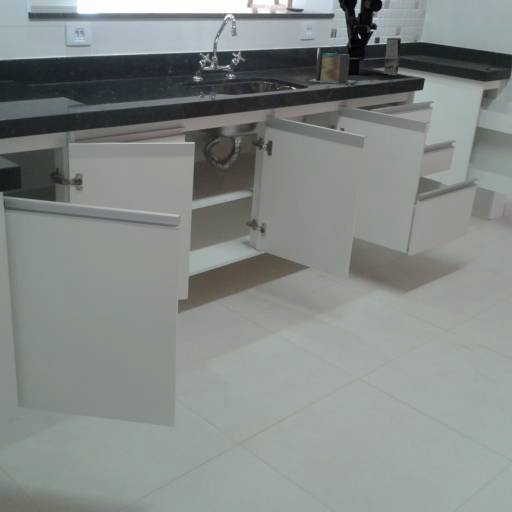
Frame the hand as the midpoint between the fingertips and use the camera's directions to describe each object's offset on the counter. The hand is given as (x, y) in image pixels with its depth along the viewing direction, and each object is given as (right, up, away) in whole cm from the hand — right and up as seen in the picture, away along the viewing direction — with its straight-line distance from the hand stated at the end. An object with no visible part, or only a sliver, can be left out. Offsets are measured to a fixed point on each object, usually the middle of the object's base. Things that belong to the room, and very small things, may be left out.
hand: (363, 47), depth 318 cm
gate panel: (-15, -18, -13) cm, 27 cm away
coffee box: (+16, -7, +19) cm, 26 cm away
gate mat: (-15, -18, -10) cm, 25 cm away
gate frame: (-16, -19, -13) cm, 28 cm away
